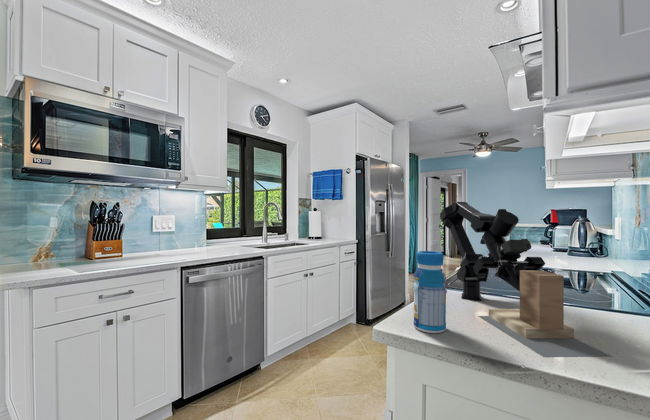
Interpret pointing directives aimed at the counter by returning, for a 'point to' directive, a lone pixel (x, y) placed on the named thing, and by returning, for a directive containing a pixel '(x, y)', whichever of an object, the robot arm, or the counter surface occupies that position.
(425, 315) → the beverage bottle
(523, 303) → the walnut block
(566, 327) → the birch board
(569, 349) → the rubber mat
